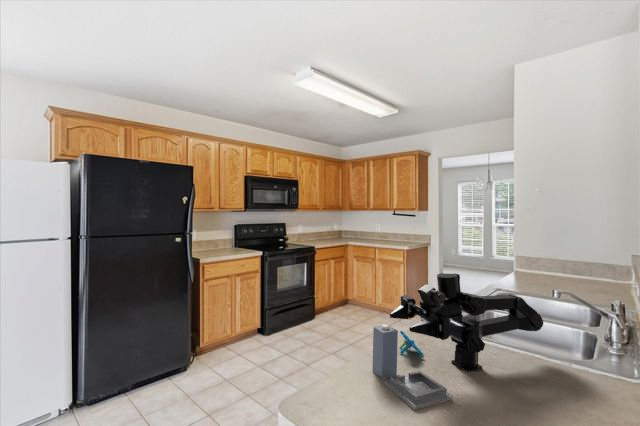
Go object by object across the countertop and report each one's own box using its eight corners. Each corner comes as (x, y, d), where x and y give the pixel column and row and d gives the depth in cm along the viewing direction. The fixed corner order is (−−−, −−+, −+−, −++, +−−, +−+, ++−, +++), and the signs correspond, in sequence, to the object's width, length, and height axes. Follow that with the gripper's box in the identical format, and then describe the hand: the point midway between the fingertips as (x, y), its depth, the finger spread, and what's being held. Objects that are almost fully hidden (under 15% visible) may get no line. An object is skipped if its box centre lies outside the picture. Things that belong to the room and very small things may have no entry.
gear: (428, 357, 100) (405, 332, 102) (414, 370, 100) (392, 345, 101) (420, 347, 111) (399, 325, 112) (408, 359, 111) (387, 337, 112)
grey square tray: (420, 376, 91) (420, 368, 91) (452, 400, 80) (452, 390, 80) (385, 384, 86) (385, 375, 86) (414, 410, 75) (414, 399, 75)
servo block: (386, 367, 96) (387, 322, 96) (396, 375, 91) (397, 327, 91) (372, 370, 94) (373, 324, 94) (382, 378, 89) (383, 329, 89)
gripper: (421, 275, 103) (380, 284, 97) (467, 295, 86) (420, 307, 80) (421, 308, 104) (381, 319, 99) (467, 333, 87) (421, 348, 82)
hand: (399, 322), depth 90 cm, fingers open, 9 cm apart
